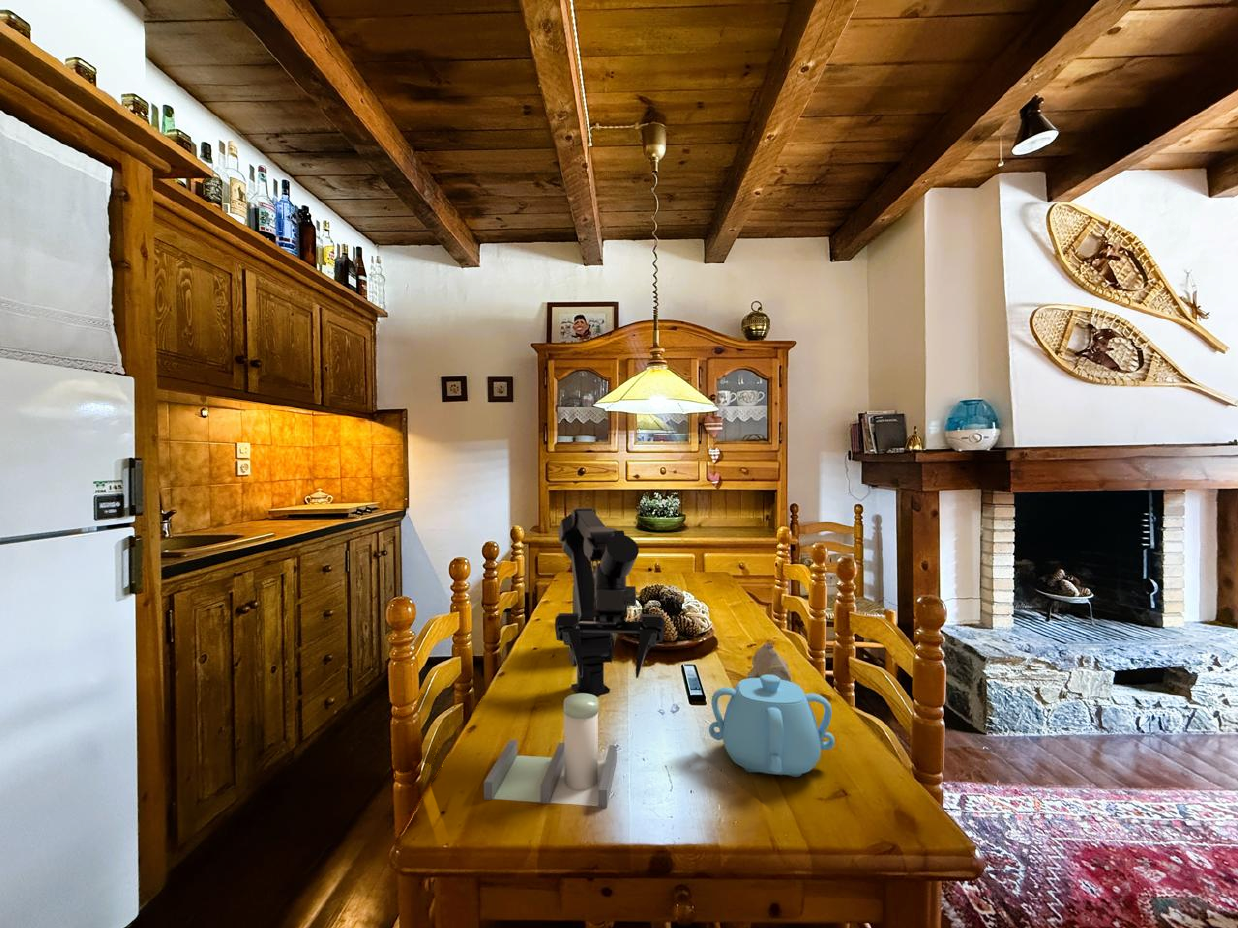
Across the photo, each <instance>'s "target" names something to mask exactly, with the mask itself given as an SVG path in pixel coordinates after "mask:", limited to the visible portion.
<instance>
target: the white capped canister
mask: <svg viewBox="0 0 1238 928" xmlns="http://www.w3.org/2000/svg"><path fill="white" fill-rule="evenodd" d="M598 713H599V697H597V695H591V694H586V693H573V694H571V695H568V696H566V697H565V698H564V699H563V714H564V715H563V717H564V720H563V721H564V723H563V725H564V734H563V735H564V737H563V738H564V739H563V740H564V742H563V743H564V766H563V767H564V782H565V785H566V786H567V787H569V788H570V789H573V790H587V789H590V788H592V787H594V786H595V785H596V784H597V782H598V760H599V738H598V737H599V733H598V732H599V727H598V726H599V714H598Z"/></svg>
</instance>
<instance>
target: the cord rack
mask: <svg viewBox="0 0 1238 928" xmlns="http://www.w3.org/2000/svg"><path fill="white" fill-rule="evenodd" d="M517 742H518V739H509V740H508V742H507V743H506V745H505V747H504V748H503V750H502V752H501V754H499V757H498V758H497V760H496V761H495V763H494V765H493V766H492V768H491V770H490V772H488V775H487V776H486V778H485V780H484V781H483V800H486V801H487V800H489V801H492V800H502V801H515V802H516V801H517V802H518V801H519V802H530V803H540V804H545V805H546V804H547V805H549V804H558V805H559V804H560V805H575V806H588V807H598V808H600V809H601V808H602V809H608V805H609V799H610V796H611V791H612V786H613V781H614V776H615V772H616V767H617V762H618V746H617V745H608V750H607V754H606V759H605V760H599V759H598V782H597V784H596V785H595V786H594V787H592V788H590V789H587V790H573V789H570V788H569V787H567V786H566V785H565V782H564V742H558V743H557V746H556V749H555V752H554V754H553V756H552V757H549V756H548V757H547V756H530V755H518V743H517Z"/></svg>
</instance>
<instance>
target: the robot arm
mask: <svg viewBox="0 0 1238 928" xmlns="http://www.w3.org/2000/svg"><path fill="white" fill-rule="evenodd" d="M596 513H597V512H596V509H595V508H592V507H576V508H574V509H572V510H571V512H570V514H568V515H567V516H566V517H564V518H562V519H561V521H560V523H559V526H558V531H557V532H558V534H557V536H558V541H559V542H560V543H561V549H562V551H563V553H564V554H565V555H566V556H567V557H568V559H570V563H571V569H572V578H573V579H572V580H573V585H574V587H575V595H576V602H577V610H578V613H573V612H559V613H558V614H557V615H556V616H555V618H554V619H555V620H554V631H555V636H556V637H555V638H556V640H557V641H559V642H563V646H569V647H568V659H569V661H570V663H571V665H572V666H573V667H576V683H573V684H571V685H570V687H571V689H572V690H573V691H575V692H576V694H578V693H586V694H591V695H594V696H597V695H602V694H607V693H610V692H611V688H609V687H608V686H607V685H606V684H605V683H604V681H605V679H604V678H605V675H604V674H605V671H604V670H605V669H604V667H605V666H604V665H605V663H613V660H614V650H615V644H616V641H615V640H614V639H613V636H612V634H611V633H617V634H639V638H638V640H639V641H638V648H637V655H636V664H635V679H639V677H640V674H641V673H640V672H641V670H642V667H643V663H644V660H645V657H646V655H647V653H648V651H649V650H650V648H651V647H655V646H656V644H657V643H661V642H663V640H664V634H665V631H666V623H665V618H664V616H663V615H662V614H660V613H659V614H658V613H657V614H653V613H651V614H648V613H641V616H640V617H641V618H640V621H628V620H627V617H628V607H635V606H636V604H637V590H636V589H637V586H634V585H633V586H632V585H631V586H629V585H627V576H628V575H629V574H630V573H631V571H632V569H633V566H634V564H635V562H636V559H637V558H638V556H639V552H640V550H639V549H640V548H639V545H638V544H637V543H636V541H635V540H634V539H633V538H632V537H631V536H628V535H626V534H625V530H619V529H617V528H615V527H614V528H613V527H608V526H605V524H604V523H603V521H602V520H601V519H600V517H598V515H597V514H596ZM592 561H593V562H596V561H598V565H597V566H596V574H595V585H594V578H593V568H592Z"/></svg>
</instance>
